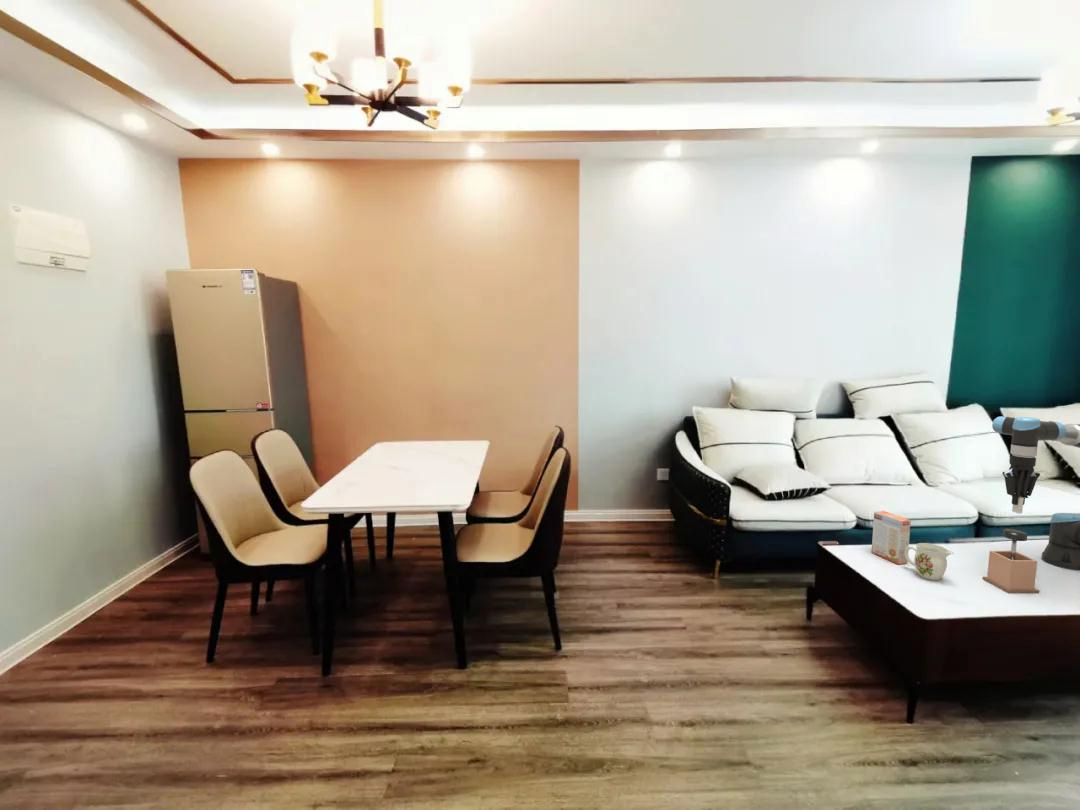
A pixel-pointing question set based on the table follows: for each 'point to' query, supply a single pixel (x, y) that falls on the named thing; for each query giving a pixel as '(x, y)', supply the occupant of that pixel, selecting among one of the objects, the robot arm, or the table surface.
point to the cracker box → (890, 536)
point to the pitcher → (929, 560)
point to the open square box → (1012, 572)
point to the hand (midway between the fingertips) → (1017, 512)
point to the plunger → (1014, 539)
